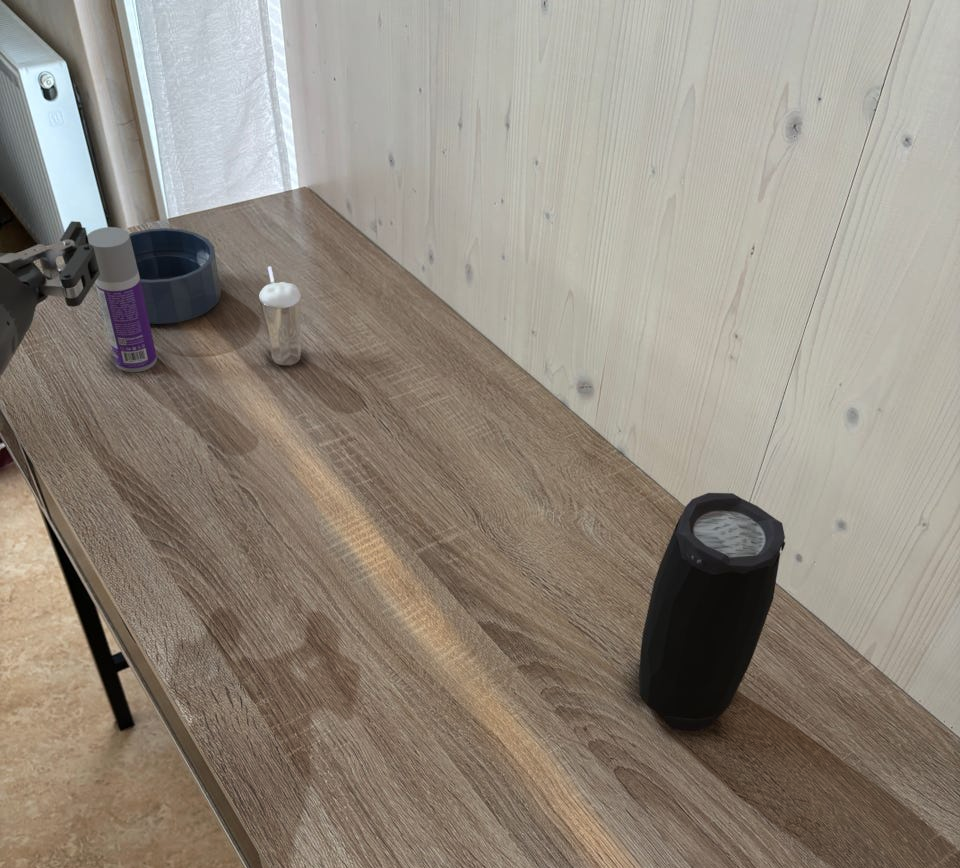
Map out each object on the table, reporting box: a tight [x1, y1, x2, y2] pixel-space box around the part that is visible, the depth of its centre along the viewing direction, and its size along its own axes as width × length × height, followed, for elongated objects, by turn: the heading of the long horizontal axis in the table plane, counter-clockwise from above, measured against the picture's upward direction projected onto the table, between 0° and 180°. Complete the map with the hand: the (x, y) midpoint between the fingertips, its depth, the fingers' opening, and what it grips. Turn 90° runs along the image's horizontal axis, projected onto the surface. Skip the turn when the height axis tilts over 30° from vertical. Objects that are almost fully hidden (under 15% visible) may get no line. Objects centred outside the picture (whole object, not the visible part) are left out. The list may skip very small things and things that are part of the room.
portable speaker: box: [638, 492, 786, 732], centre depth 83 cm, size 9×9×20 cm
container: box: [87, 226, 158, 373], centre depth 116 cm, size 5×5×15 cm
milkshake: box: [258, 265, 302, 367], centre depth 119 cm, size 4×5×10 cm
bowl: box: [129, 227, 222, 325], centre depth 128 cm, size 13×13×6 cm
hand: (30, 229), depth 92 cm, fingers open, 8 cm apart
